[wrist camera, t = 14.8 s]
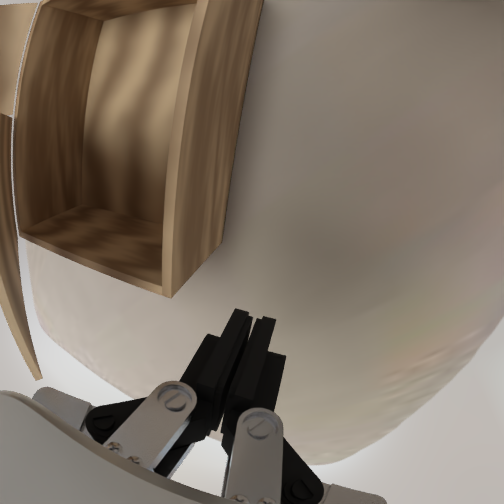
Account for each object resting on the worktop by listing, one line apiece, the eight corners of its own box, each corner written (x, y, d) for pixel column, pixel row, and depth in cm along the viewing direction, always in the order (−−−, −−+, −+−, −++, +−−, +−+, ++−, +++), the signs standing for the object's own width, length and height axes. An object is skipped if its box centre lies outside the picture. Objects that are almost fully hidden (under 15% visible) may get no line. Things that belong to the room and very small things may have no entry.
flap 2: (-14, 106, 5) (-25, 108, 4) (42, 378, 11) (35, 380, 10) (12, 118, 17) (8, 118, 17) (17, 235, 23) (13, 236, 23)
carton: (263, -1, 19) (228, -62, 8) (221, 242, 31) (171, 298, 20) (104, 19, 22) (40, 2, 12) (82, 207, 34) (19, 236, 24)
